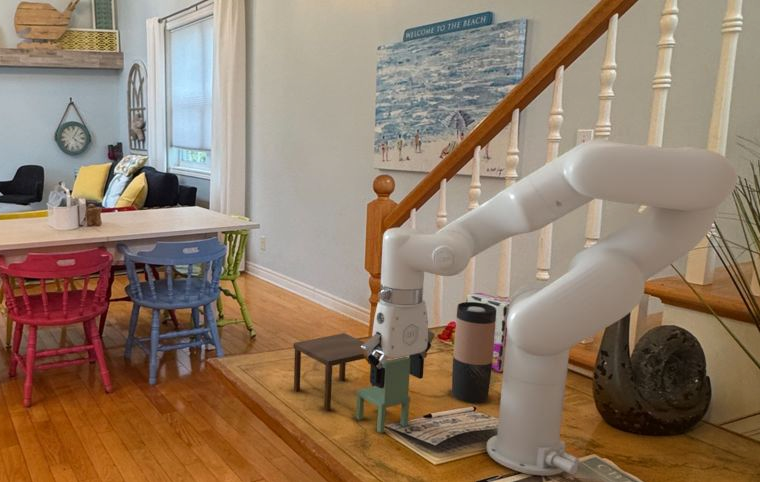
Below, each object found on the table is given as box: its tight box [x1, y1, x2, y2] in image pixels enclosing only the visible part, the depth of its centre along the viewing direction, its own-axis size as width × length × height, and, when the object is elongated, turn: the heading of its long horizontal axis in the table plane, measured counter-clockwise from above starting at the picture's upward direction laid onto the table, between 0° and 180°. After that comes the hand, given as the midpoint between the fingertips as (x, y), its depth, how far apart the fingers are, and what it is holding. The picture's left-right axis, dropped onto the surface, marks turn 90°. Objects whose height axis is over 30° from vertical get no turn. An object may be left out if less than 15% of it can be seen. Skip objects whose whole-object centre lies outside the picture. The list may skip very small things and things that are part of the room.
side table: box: [293, 332, 381, 412], centre depth 138 cm, size 12×14×11 cm
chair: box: [355, 356, 411, 434], centre depth 124 cm, size 7×7×14 cm
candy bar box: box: [465, 292, 510, 373], centre depth 153 cm, size 11×5×16 cm, turn 25°
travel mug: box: [451, 301, 496, 404], centre depth 135 cm, size 8×8×20 cm
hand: (396, 380), depth 121 cm, fingers open, 9 cm apart
